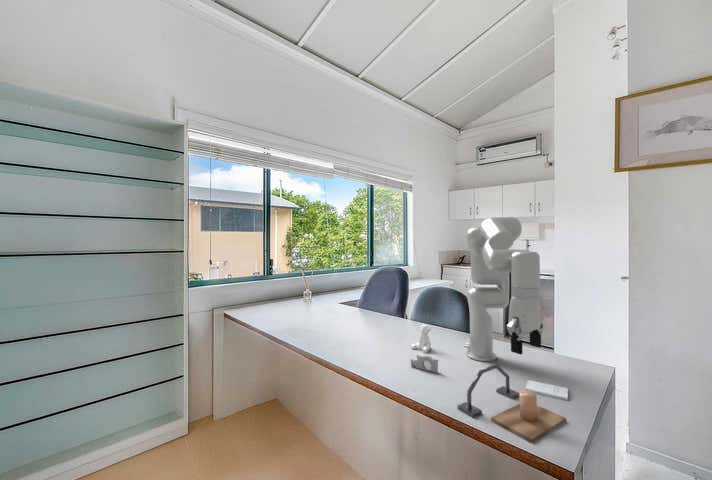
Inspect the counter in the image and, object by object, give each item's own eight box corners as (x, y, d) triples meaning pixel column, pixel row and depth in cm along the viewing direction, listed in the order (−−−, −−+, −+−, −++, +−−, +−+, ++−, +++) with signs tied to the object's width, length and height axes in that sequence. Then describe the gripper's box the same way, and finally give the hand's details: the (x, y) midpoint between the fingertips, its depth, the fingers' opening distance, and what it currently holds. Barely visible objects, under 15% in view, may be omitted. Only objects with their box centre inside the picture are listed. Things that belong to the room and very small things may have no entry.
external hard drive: (527, 383, 117) (568, 392, 110) (525, 392, 111) (567, 402, 104) (527, 379, 117) (567, 387, 110) (525, 388, 111) (567, 397, 104)
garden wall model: (410, 366, 133) (410, 352, 133) (412, 365, 135) (411, 351, 135) (437, 373, 126) (437, 358, 126) (439, 371, 128) (438, 357, 128)
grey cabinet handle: (457, 408, 100) (456, 372, 100) (503, 388, 112) (502, 356, 112) (473, 417, 95) (472, 379, 95) (519, 395, 107) (518, 361, 107)
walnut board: (491, 420, 93) (491, 417, 93) (525, 403, 102) (525, 400, 102) (531, 443, 83) (531, 439, 83) (566, 421, 92) (566, 417, 92)
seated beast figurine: (410, 348, 155) (409, 324, 155) (420, 344, 161) (420, 321, 161) (426, 353, 148) (425, 328, 148) (436, 349, 154) (436, 324, 154)
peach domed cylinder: (517, 416, 93) (516, 392, 93) (525, 411, 96) (525, 388, 96) (531, 423, 90) (530, 399, 90) (540, 418, 92) (539, 394, 92)
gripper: (529, 288, 102) (530, 340, 102) (496, 293, 93) (497, 351, 93) (554, 291, 95) (554, 347, 95) (520, 298, 86) (521, 360, 86)
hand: (526, 349), depth 94 cm, fingers open, 9 cm apart
